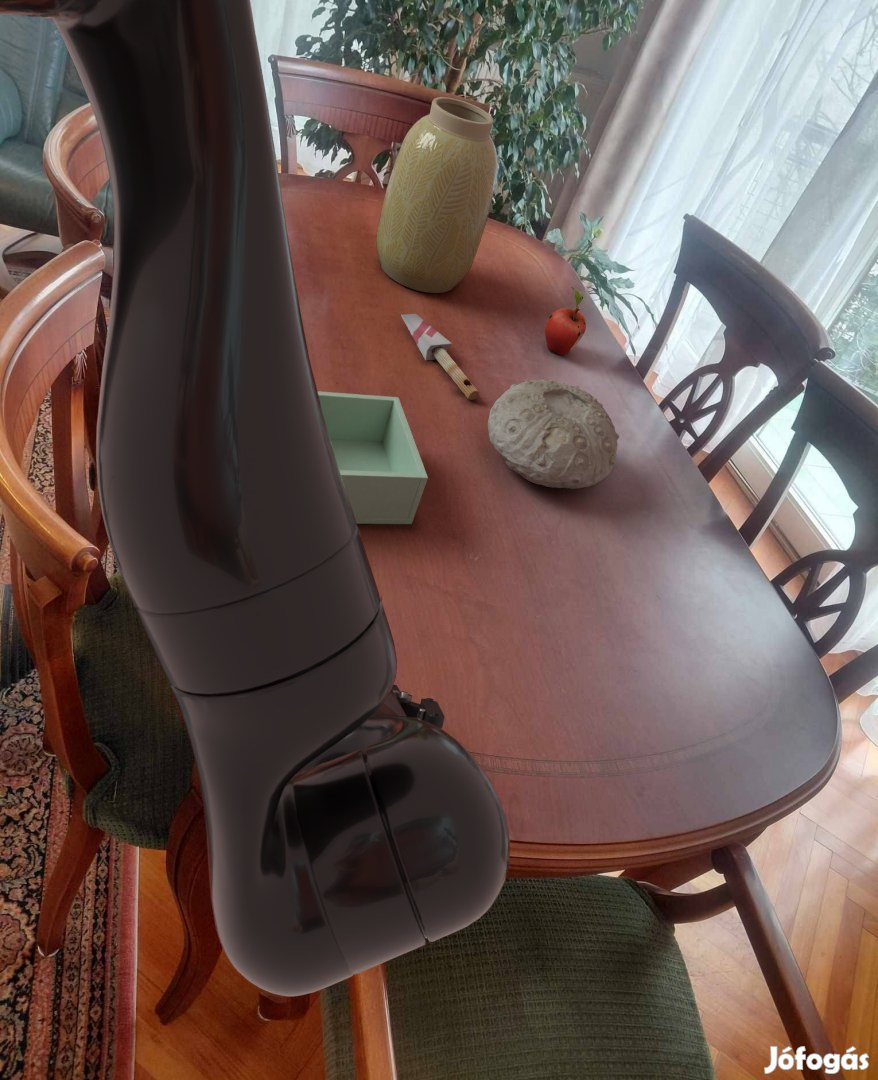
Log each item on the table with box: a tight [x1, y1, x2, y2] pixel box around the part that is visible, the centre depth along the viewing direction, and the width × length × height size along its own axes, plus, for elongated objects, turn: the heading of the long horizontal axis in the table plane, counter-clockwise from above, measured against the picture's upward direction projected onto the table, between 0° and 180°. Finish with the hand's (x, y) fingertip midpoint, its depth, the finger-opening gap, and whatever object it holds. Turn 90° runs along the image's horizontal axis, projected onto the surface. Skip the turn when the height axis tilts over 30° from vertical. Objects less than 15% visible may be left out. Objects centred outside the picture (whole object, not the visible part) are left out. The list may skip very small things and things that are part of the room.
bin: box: [317, 390, 429, 525], centre depth 90 cm, size 15×15×7 cm
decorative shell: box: [487, 378, 620, 490], centre depth 103 cm, size 18×18×10 cm
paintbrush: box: [400, 313, 480, 401], centre depth 117 cm, size 4×3×20 cm
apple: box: [544, 286, 587, 356], centre depth 127 cm, size 8×7×10 cm
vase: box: [375, 96, 499, 294], centre depth 127 cm, size 17×17×27 cm
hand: (334, 686), depth 60 cm, fingers open, 8 cm apart
